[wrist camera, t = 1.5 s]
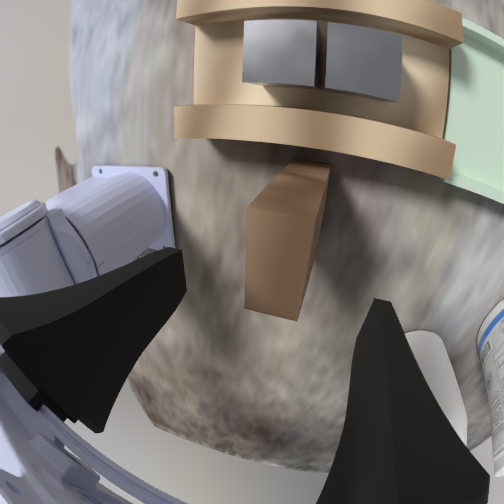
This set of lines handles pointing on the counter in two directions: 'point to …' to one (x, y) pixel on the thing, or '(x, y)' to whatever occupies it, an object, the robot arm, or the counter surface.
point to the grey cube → (282, 53)
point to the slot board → (322, 101)
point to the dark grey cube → (363, 62)
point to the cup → (440, 377)
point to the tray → (477, 112)
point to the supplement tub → (494, 378)
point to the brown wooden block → (284, 238)
